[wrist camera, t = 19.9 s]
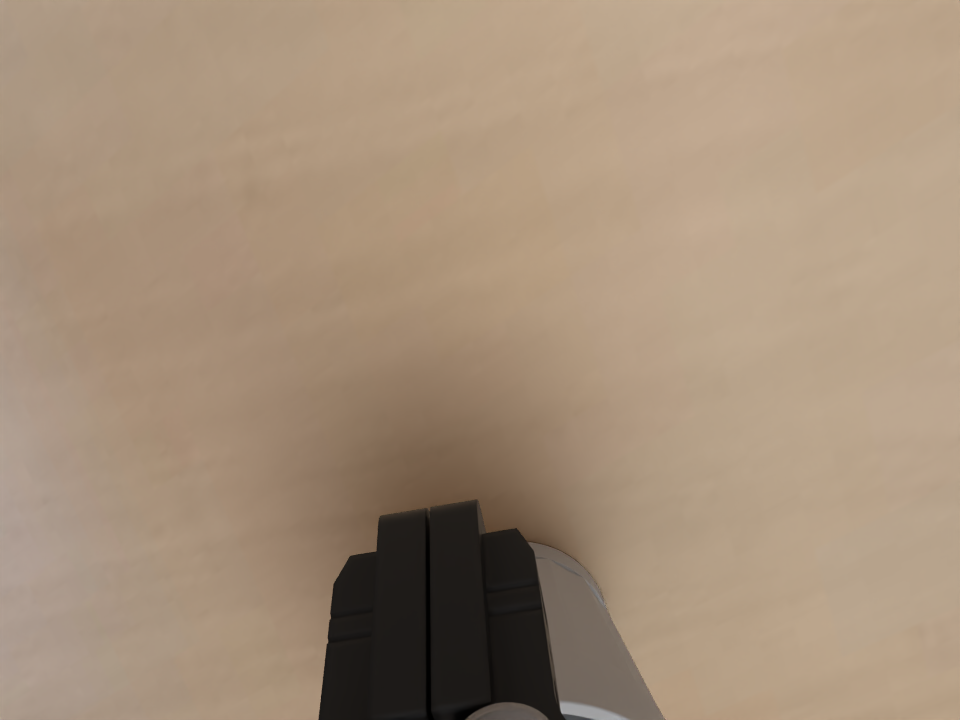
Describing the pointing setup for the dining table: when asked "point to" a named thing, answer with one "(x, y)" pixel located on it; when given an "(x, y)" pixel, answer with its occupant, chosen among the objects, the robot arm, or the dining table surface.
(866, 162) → the dining table surface
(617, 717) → the cup
